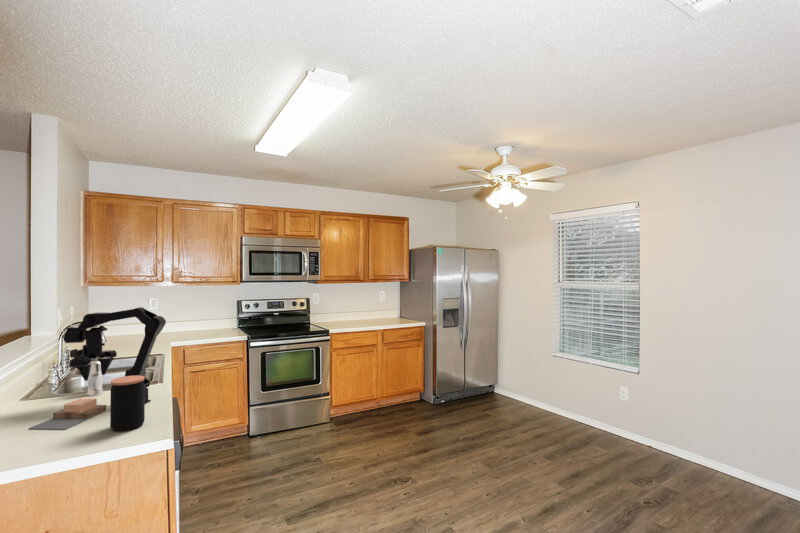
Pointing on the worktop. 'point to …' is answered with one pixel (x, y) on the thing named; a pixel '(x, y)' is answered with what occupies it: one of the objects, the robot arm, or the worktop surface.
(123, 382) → the coffee jar
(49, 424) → the charcoal mat
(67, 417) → the walnut ledge
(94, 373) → the beer glass
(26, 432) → the worktop surface
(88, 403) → the terracotta tile
